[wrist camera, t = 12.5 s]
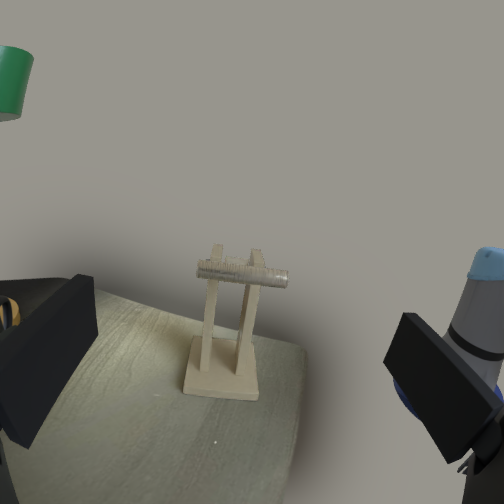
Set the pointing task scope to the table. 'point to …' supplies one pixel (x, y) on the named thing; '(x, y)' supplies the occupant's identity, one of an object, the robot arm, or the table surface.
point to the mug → (6, 313)
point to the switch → (241, 273)
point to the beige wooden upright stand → (225, 347)
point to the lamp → (13, 103)
